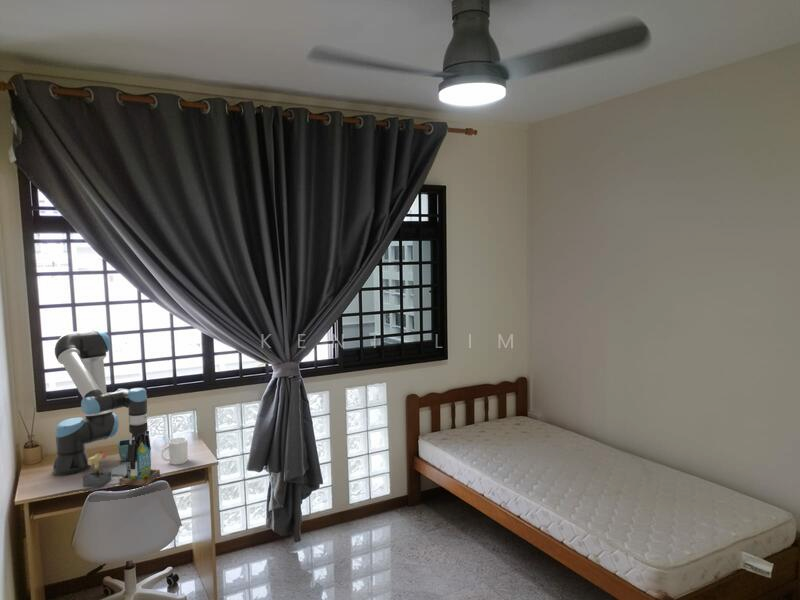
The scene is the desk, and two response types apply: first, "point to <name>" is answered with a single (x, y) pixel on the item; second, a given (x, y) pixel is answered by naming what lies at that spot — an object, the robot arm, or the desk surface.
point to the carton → (141, 463)
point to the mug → (177, 451)
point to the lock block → (97, 478)
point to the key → (96, 460)
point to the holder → (143, 482)
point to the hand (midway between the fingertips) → (139, 471)
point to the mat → (120, 470)
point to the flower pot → (123, 449)
